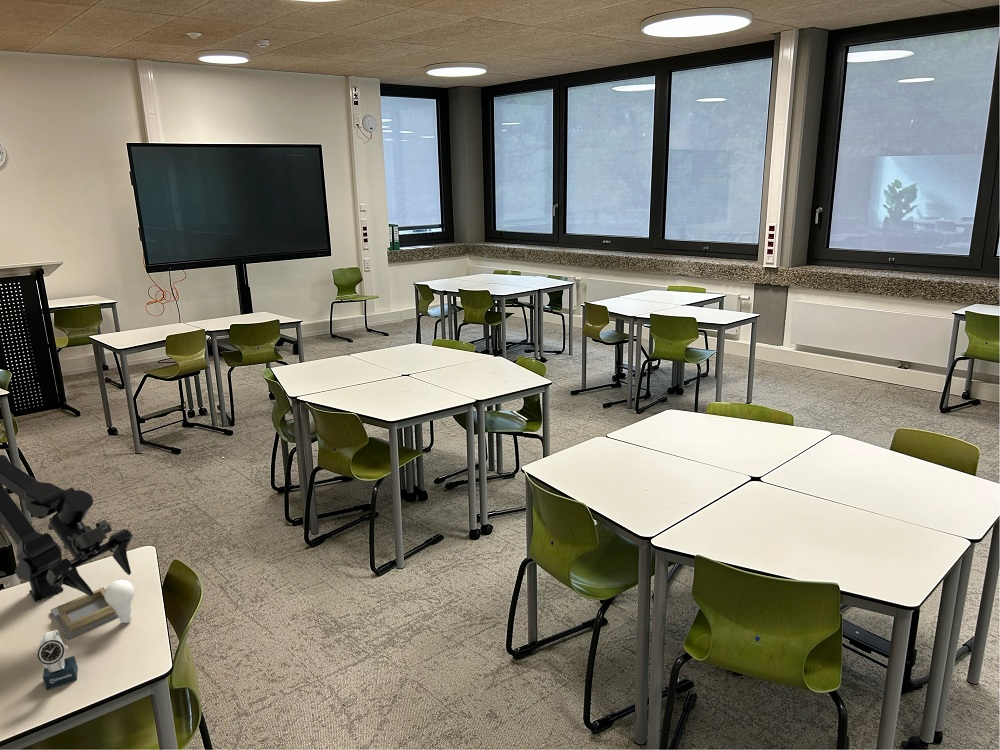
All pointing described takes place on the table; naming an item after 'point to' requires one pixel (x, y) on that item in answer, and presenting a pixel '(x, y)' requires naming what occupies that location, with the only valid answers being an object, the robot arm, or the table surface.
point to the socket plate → (83, 613)
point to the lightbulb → (120, 598)
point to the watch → (56, 661)
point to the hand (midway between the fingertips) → (111, 584)
